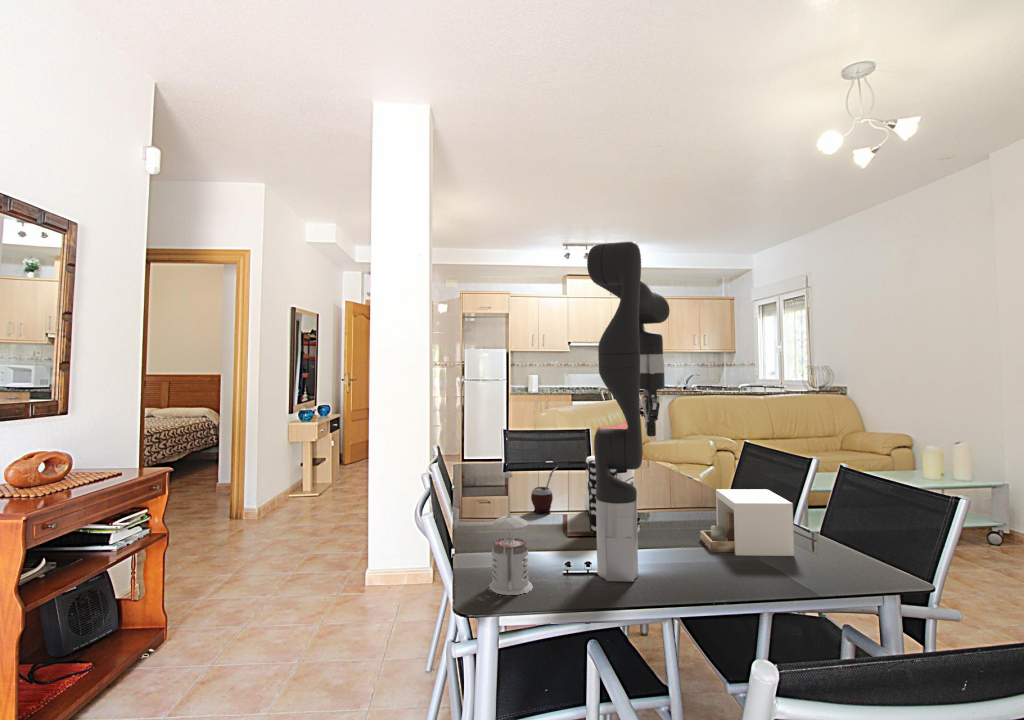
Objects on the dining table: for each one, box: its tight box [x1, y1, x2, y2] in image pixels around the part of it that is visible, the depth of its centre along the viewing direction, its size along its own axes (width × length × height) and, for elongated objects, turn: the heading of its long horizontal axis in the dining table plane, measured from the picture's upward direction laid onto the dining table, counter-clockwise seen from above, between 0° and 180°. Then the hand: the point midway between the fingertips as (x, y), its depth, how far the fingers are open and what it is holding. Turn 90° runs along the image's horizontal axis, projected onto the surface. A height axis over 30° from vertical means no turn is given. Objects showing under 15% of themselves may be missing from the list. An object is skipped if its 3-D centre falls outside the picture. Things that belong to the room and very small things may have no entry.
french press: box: [488, 471, 534, 596], centre depth 118 cm, size 10×12×25 cm
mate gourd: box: [530, 466, 559, 516], centre depth 181 cm, size 8×8×15 cm
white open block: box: [715, 488, 795, 557], centre depth 144 cm, size 16×14×13 cm
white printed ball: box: [583, 454, 636, 512], centre depth 179 cm, size 17×17×18 cm
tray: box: [699, 513, 735, 553], centre depth 144 cm, size 16×10×8 cm, turn 86°
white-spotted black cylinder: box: [588, 460, 617, 534], centre depth 159 cm, size 8×8×20 cm
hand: (651, 435), depth 147 cm, fingers closed
